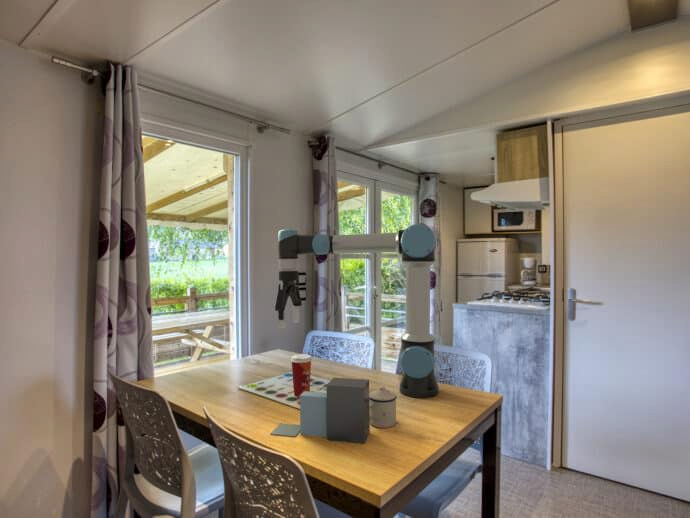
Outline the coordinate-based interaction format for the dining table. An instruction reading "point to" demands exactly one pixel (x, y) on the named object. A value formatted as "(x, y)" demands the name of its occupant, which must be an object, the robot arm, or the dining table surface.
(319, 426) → the slate blue cuboid
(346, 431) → the dark gray cuboid
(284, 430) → the pad
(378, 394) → the teacup with lid
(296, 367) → the coffee cup
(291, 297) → the robot arm
